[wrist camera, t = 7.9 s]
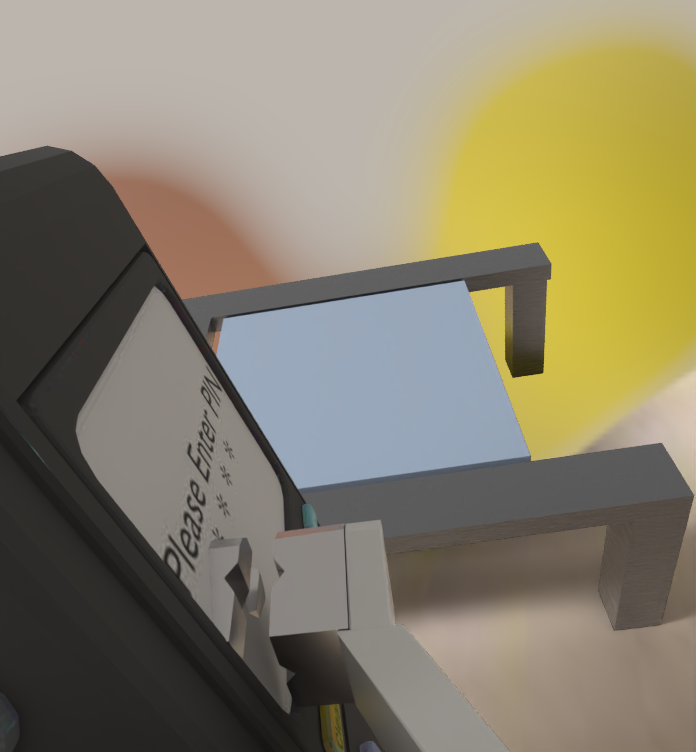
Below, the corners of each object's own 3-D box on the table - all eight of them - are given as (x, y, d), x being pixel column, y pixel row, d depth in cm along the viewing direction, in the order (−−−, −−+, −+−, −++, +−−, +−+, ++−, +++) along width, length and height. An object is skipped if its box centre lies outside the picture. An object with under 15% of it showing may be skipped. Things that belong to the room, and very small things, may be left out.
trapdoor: (194, 519, 27) (187, 504, 27) (227, 332, 38) (223, 318, 38) (530, 472, 26) (530, 455, 26) (465, 295, 37) (464, 280, 37)
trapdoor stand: (128, 691, 30) (47, 583, 24) (191, 406, 45) (150, 304, 40) (660, 624, 28) (694, 495, 23) (534, 355, 44) (538, 242, 39)
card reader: (535, 1100, 10) (-280, 165, 4) (297, 1191, 10) (-814, 464, 4) (410, 637, 18) (98, 116, 12) (283, 695, 18) (-85, 215, 12)
